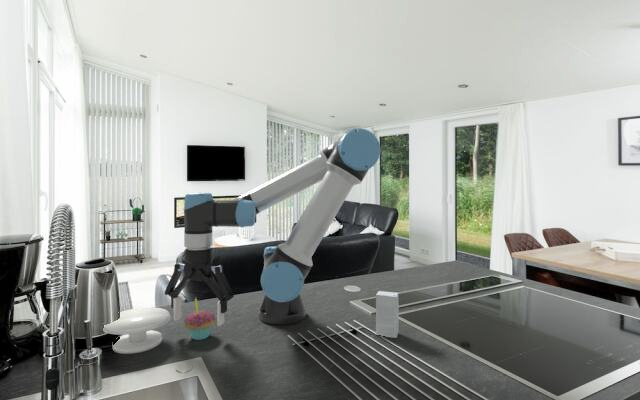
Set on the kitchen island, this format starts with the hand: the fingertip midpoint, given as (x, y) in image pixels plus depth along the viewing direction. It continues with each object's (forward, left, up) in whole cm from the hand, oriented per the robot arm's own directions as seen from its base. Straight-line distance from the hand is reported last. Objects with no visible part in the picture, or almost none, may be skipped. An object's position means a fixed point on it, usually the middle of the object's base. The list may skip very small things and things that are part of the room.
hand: (198, 321), depth 105 cm
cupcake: (0, 0, -4) cm, 4 cm away
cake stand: (+14, +8, -4) cm, 16 cm away
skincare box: (-52, -13, -4) cm, 54 cm away
